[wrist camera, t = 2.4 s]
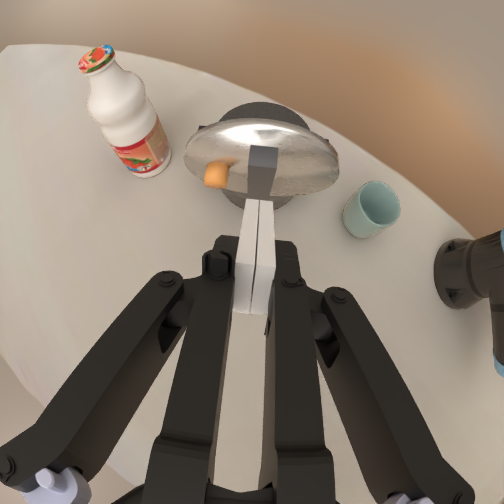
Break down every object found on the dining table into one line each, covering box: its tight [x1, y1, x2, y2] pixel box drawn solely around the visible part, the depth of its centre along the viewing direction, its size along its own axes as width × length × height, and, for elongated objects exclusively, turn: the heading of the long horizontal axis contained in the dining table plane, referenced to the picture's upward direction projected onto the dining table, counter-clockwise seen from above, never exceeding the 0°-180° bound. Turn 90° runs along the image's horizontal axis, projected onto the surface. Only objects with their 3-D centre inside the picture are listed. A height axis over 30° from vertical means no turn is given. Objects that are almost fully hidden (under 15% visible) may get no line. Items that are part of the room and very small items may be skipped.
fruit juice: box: [79, 45, 171, 178], centre depth 37 cm, size 9×9×28 cm
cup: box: [343, 181, 400, 238], centre depth 44 cm, size 8×8×10 cm
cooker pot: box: [198, 102, 329, 212], centre depth 44 cm, size 15×20×12 cm
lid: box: [184, 118, 339, 204], centre depth 28 cm, size 16×16×3 cm
